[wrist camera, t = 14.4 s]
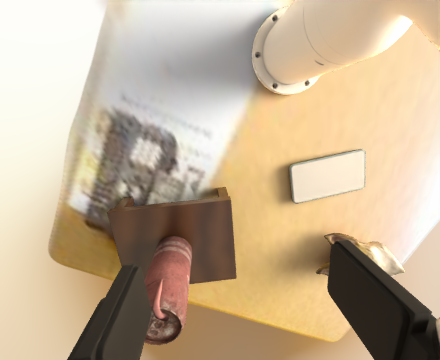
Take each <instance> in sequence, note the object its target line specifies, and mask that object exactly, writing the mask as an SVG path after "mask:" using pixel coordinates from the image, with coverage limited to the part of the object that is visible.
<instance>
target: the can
mask: <svg viewBox="0 0 440 360" xmlns="http://www.w3.org/2000/svg"><path fill="white" fill-rule="evenodd" d="M191 259H192V248H191V246H190V244H189V243H188V242H187V241H186V240H185V239H183V238H181V237H176V236H172V237H167V238H165V239H163V240H162V241H161V242H159V244H158V246H157V248H156V250H155V253H154V256H153V258H152V261H151V264H150V267H149V269H148V272H147V275H146V278H145V280H144V281H145V285H146V290H147V294H148V298H149V302H150V306H151V319H150V323H149V326H148V330H147V334H146V338H145V341H144V343H148V344H151V345H161V344H167V343H169V342H171V341H173V340H175V339H176V338H177V337H178V336H179V334H180V332H181V330H182V329H183V327H184V325H185V321H186V312H187V301H188V291H189V280H190V269H191Z"/></svg>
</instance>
